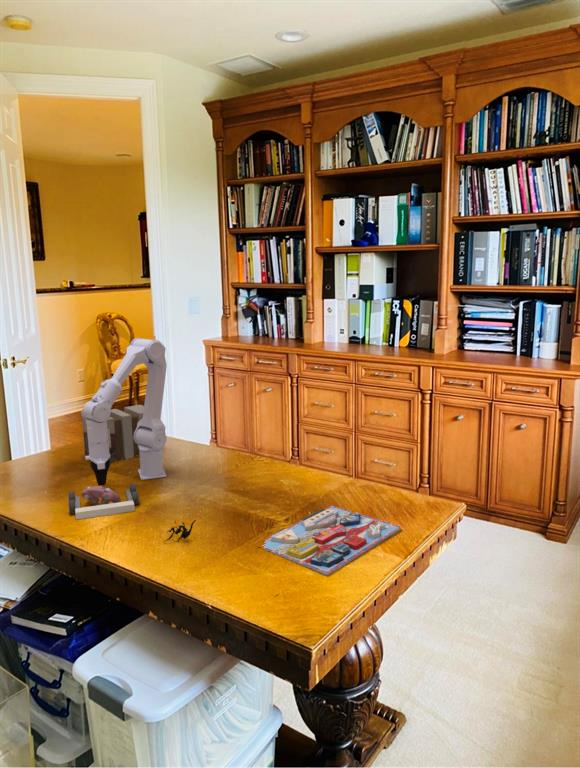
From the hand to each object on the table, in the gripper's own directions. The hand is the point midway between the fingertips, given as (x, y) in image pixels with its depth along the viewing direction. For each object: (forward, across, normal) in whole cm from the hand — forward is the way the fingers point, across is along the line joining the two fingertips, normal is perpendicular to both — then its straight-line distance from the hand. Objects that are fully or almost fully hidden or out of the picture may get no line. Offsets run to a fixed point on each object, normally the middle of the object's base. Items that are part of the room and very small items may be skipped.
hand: (101, 484), depth 183 cm
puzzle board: (+3, +53, +51) cm, 74 cm away
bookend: (+3, -35, +9) cm, 36 cm away
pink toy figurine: (+3, +9, -1) cm, 10 cm away
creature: (+3, +39, +16) cm, 42 cm away
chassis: (+2, +11, 0) cm, 12 cm away
